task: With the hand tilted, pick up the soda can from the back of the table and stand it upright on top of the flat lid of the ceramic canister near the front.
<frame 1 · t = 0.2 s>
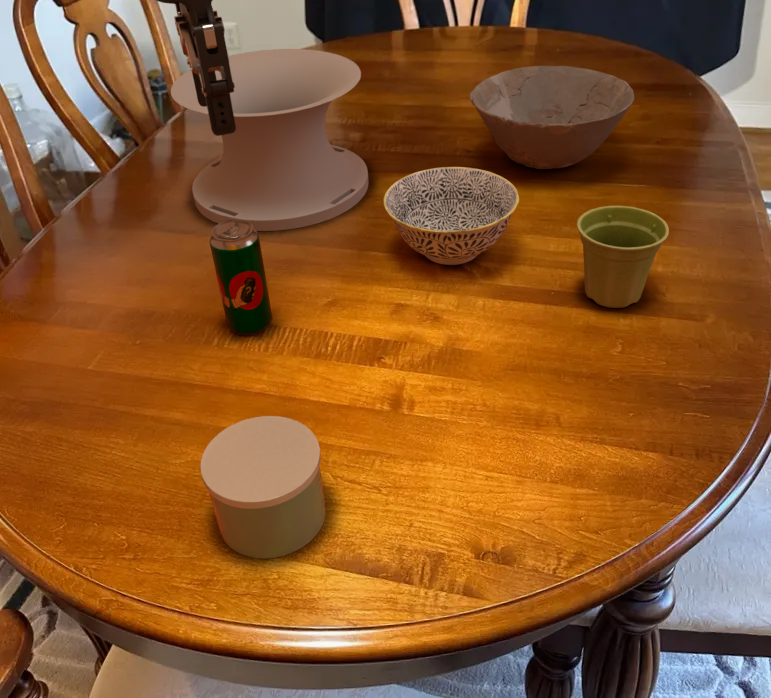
hand: (216, 118, 79), 22 cm above the table, tool pointing down, fingers open, 8 cm apart
plant pot: (612, 295, 90), on the table
canister: (272, 514, 67), on the table
soda can: (250, 325, 89), on the table
vase: (282, 188, 115), on the table
bowl: (450, 252, 99), on the table
ceramic bowl: (547, 159, 119), on the table
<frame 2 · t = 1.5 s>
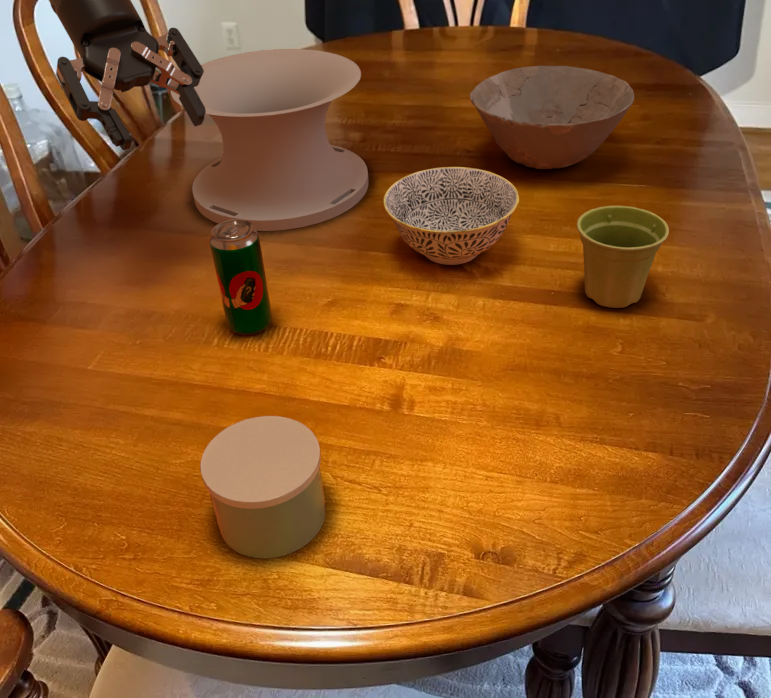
hand: (165, 133, 85), 19 cm above the table, tool tilted 45°, fingers open, 8 cm apart
nothing on the table moved.
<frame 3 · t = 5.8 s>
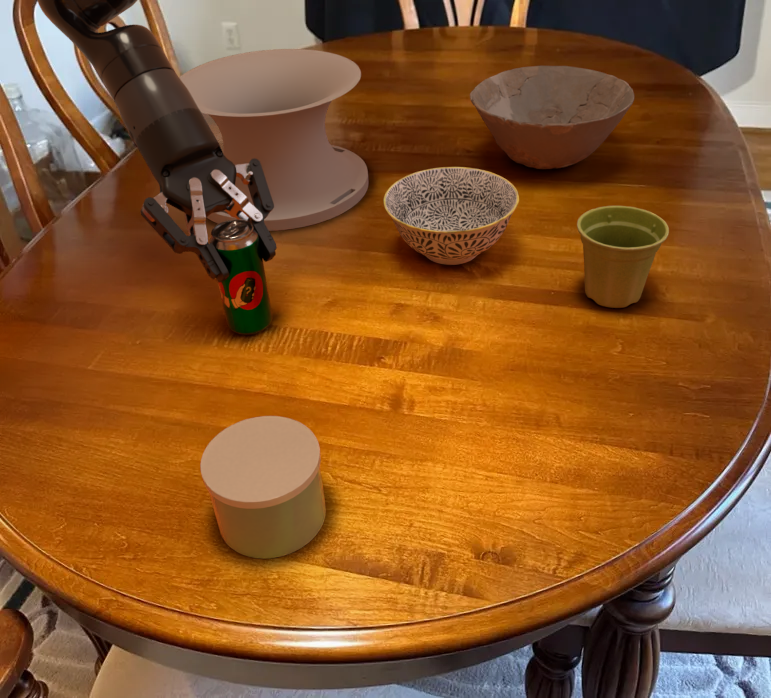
hand: (247, 267, 83), 8 cm above the table, tool tilted 45°, fingers closed on soda can, 5 cm apart
soda can: (250, 325, 89), on the table, touching gripper
everything else where it was.
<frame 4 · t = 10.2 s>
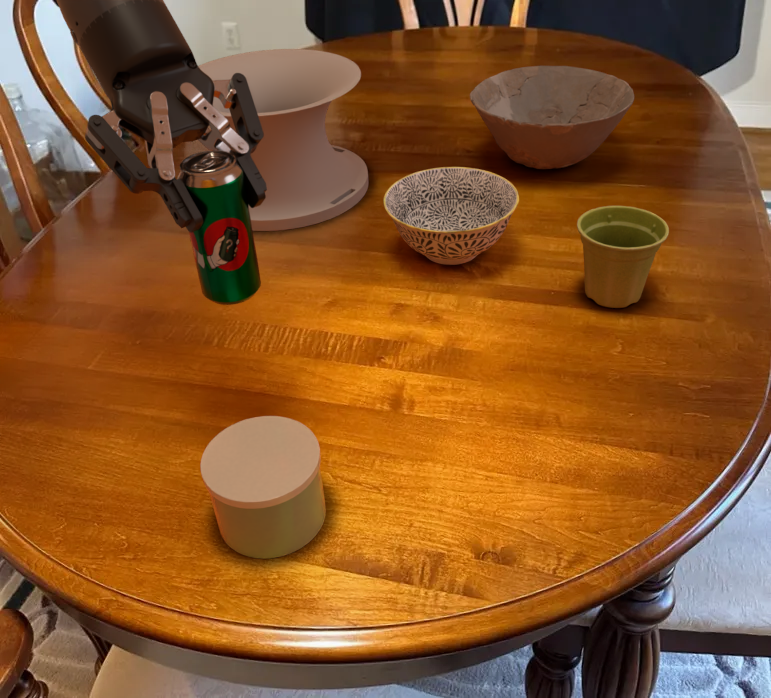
hand: (228, 214, 63), 22 cm above the table, tool tilted 45°, fingers closed on soda can, 5 cm apart
soda can: (232, 293, 69), point 14 cm above the table, touching gripper
everything else where it was.
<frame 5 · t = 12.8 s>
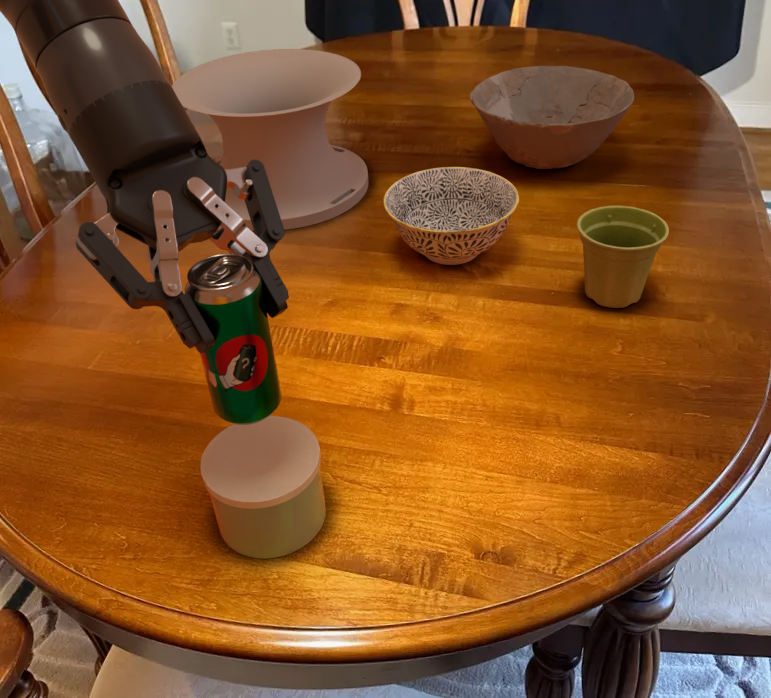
hand: (244, 329, 54), 20 cm above the table, tool tilted 45°, fingers closed on soda can, 5 cm apart
soda can: (249, 407, 60), point 12 cm above the table, touching gripper
everything else where it was.
when the fingers open (15 cm above the table, at t = 14.8 s): soda can stays where it is, resting on canister.
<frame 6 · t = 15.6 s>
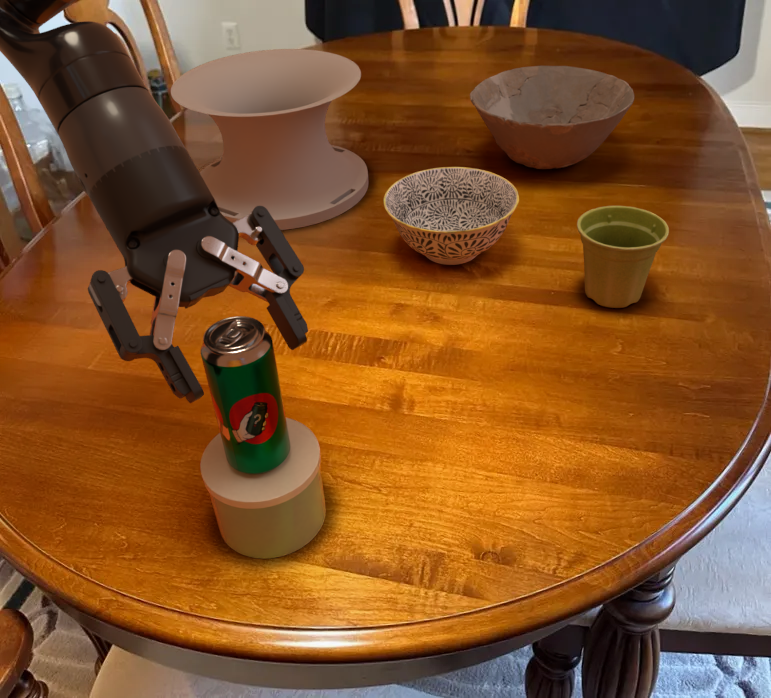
hand: (250, 371, 56), 16 cm above the table, tool tilted 45°, fingers open, 8 cm apart
soda can: (259, 457, 63), point 7 cm above the table, touching canister
everything else where it was.
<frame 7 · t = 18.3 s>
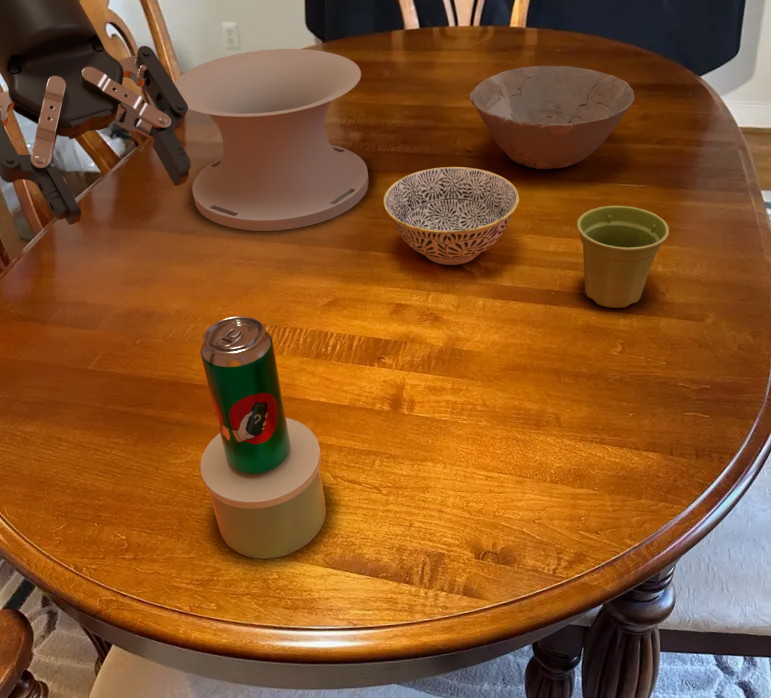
hand: (131, 199, 59), 25 cm above the table, tool tilted 45°, fingers open, 8 cm apart
nothing on the table moved.
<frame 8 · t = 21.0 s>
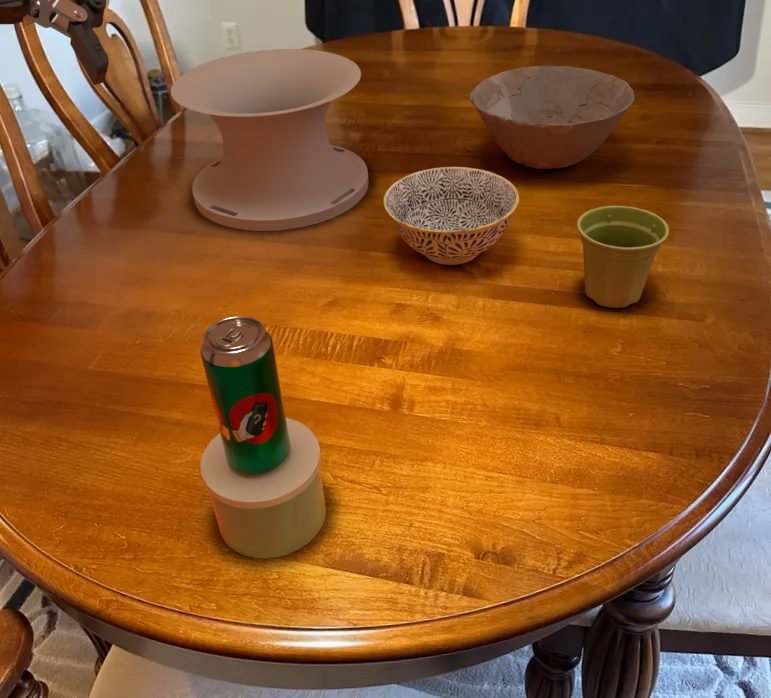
hand: (44, 94, 56), 33 cm above the table, tool tilted 45°, fingers open, 8 cm apart
nothing on the table moved.
at the end: soda can 0.1 cm off-centre on the canister, point 6.8 cm above the canister's base; soda can tilted 0°; the gripper is holding nothing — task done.
